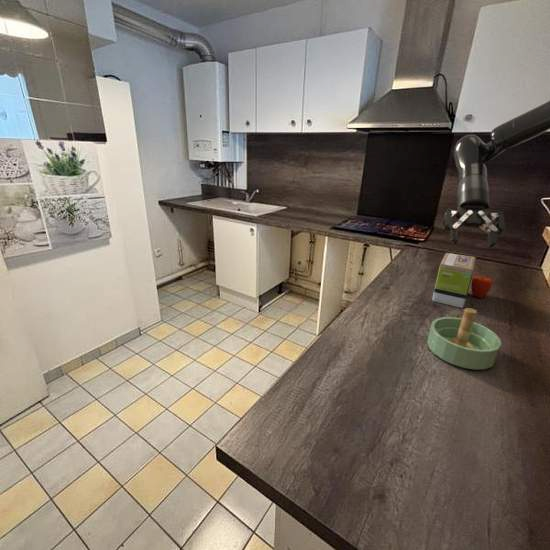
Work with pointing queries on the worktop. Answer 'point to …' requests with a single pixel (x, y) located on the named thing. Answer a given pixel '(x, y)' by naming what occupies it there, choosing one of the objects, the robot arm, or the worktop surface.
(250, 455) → the worktop surface
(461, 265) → the tea box
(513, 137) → the robot arm
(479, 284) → the red bell pepper
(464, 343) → the brown round-based rod
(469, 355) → the bowl
